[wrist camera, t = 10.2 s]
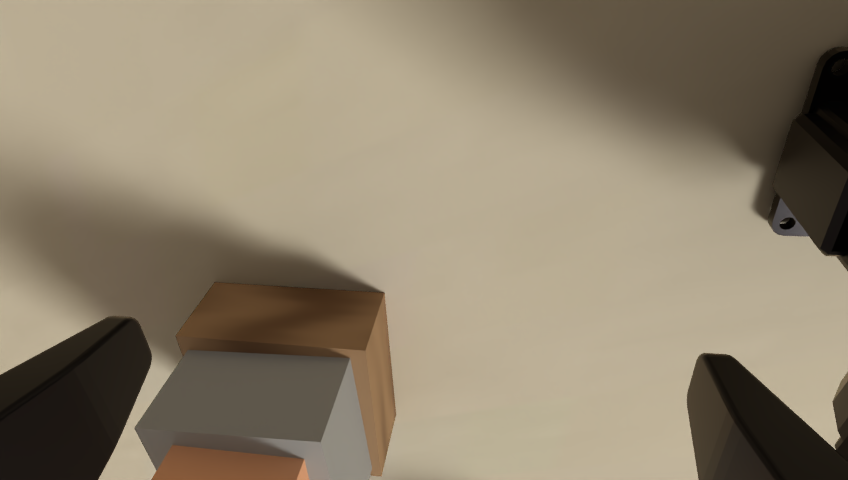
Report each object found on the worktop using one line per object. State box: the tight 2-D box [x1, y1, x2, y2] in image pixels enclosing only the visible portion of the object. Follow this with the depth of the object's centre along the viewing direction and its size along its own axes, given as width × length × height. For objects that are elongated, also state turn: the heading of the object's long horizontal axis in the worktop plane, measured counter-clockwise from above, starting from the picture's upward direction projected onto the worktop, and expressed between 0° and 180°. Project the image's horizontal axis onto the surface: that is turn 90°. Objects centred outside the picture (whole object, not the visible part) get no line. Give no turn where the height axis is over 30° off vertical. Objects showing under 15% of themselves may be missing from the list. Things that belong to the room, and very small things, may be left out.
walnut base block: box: [176, 282, 396, 476], centre depth 27 cm, size 8×8×4 cm
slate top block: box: [135, 350, 372, 480], centre depth 24 cm, size 7×7×4 cm
